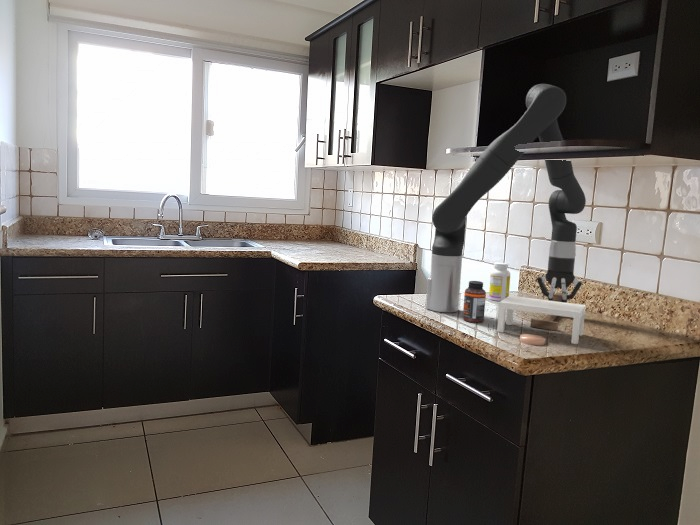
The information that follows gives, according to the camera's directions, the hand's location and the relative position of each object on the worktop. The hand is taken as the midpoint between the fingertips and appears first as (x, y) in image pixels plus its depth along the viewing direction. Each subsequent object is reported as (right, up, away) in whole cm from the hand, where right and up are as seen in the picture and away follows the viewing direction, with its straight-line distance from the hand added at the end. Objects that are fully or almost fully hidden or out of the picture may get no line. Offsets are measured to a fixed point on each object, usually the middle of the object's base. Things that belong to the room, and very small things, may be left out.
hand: (556, 310), depth 175 cm
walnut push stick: (-4, -2, -7) cm, 8 cm away
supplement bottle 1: (-29, -2, -13) cm, 32 cm away
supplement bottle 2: (-12, +2, +22) cm, 25 cm away
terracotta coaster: (-19, -5, -34) cm, 40 cm away
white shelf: (-14, -4, -25) cm, 29 cm away
